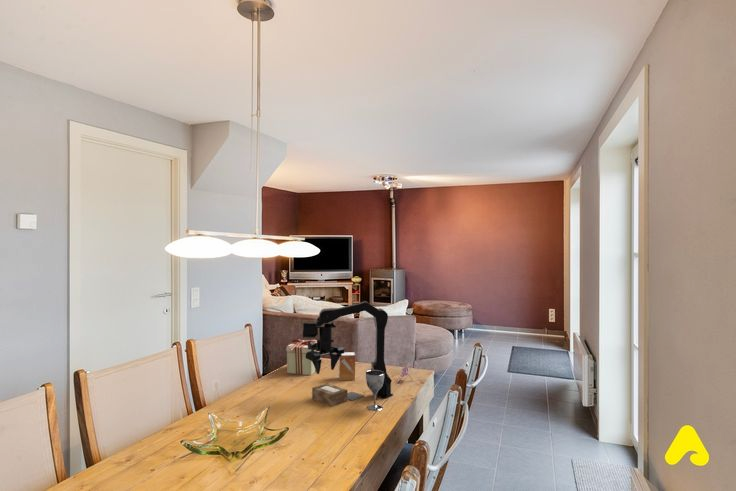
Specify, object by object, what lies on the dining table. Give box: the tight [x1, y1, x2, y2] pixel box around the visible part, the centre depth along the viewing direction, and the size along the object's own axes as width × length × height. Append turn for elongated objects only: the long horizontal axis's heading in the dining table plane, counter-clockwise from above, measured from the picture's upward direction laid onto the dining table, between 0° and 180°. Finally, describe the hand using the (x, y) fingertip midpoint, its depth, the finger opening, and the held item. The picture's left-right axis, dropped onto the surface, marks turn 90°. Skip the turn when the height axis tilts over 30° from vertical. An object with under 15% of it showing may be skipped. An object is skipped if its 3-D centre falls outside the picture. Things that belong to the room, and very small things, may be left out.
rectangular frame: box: [311, 383, 348, 407], centre depth 189 cm, size 13×9×5 cm
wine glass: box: [365, 369, 384, 412], centre depth 181 cm, size 8×8×15 cm
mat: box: [347, 391, 365, 402], centre depth 194 cm, size 8×8×1 cm
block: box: [320, 386, 340, 393], centre depth 189 cm, size 9×4×2 cm, turn 48°
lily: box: [396, 361, 414, 384], centre depth 217 cm, size 12×12×10 cm
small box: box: [338, 351, 356, 381], centre depth 220 cm, size 8×6×13 cm
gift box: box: [285, 338, 322, 376], centre depth 233 cm, size 17×18×17 cm
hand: (325, 371), depth 192 cm, fingers open, 8 cm apart
